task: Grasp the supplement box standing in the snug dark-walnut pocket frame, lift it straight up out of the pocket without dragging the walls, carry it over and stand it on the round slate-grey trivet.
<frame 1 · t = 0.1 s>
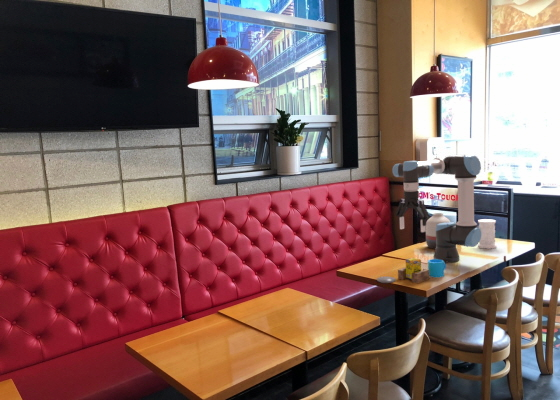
hand: (412, 230, 234), 28 cm above the table, fingers open, 13 cm apart
decorative container: (487, 246, 301), on the table
mug: (438, 275, 246), on the table
supplement box: (413, 279, 242), on the table
pocket: (413, 278, 242), on the table
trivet: (386, 280, 242), on the table
vase: (438, 247, 307), on the table
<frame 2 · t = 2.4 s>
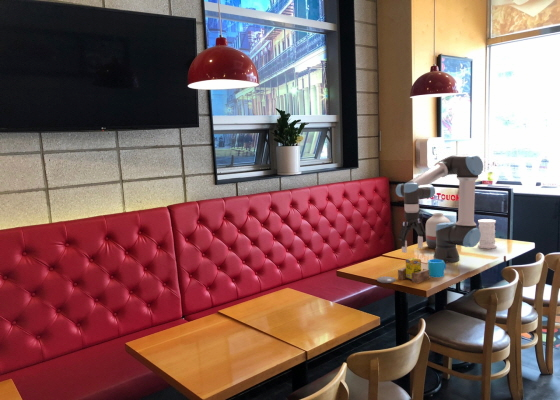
hand: (412, 250, 240), 16 cm above the table, fingers open, 13 cm apart
nothing on the table moved.
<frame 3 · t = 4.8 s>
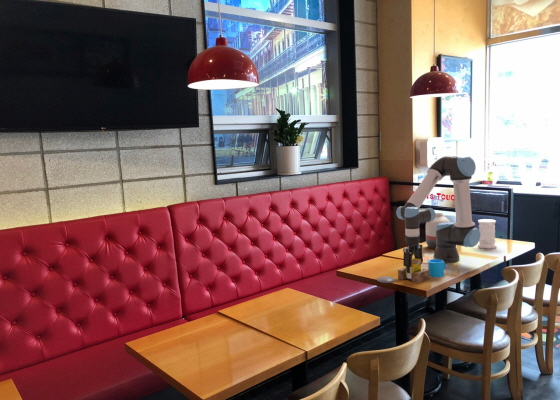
hand: (413, 276, 242), 1 cm above the table, fingers closed on supplement box, 6 cm apart
supplement box: (413, 279, 242), on the table, touching gripper
everything else where it was.
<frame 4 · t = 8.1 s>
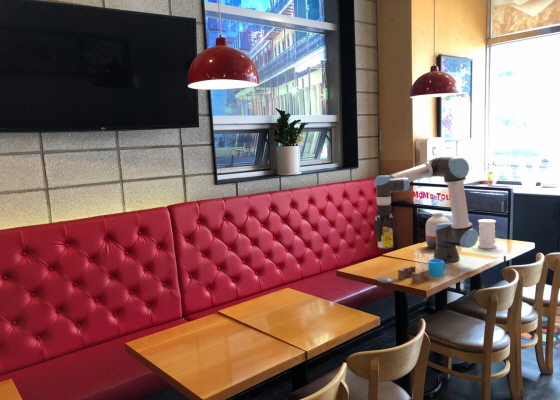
hand: (385, 246, 240), 19 cm above the table, fingers closed on supplement box, 6 cm apart
supplement box: (385, 248, 240), point 18 cm above the table, touching gripper
everything else where it was.
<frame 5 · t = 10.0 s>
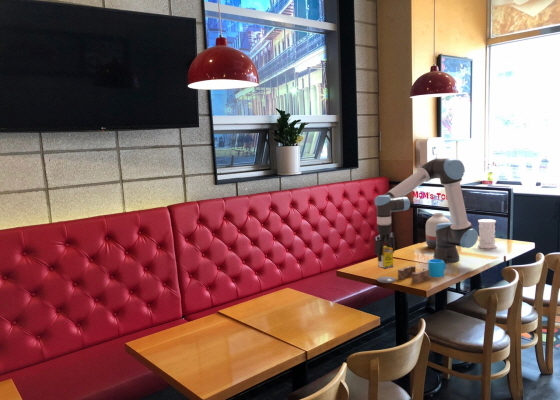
hand: (385, 265, 241), 8 cm above the table, fingers closed on supplement box, 6 cm apart
supplement box: (385, 267, 241), point 7 cm above the table, touching gripper
everything else where it was.
when the fingers open (3 cm above the table, at t = 11.7 s): supplement box drops 2 cm, resting on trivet.
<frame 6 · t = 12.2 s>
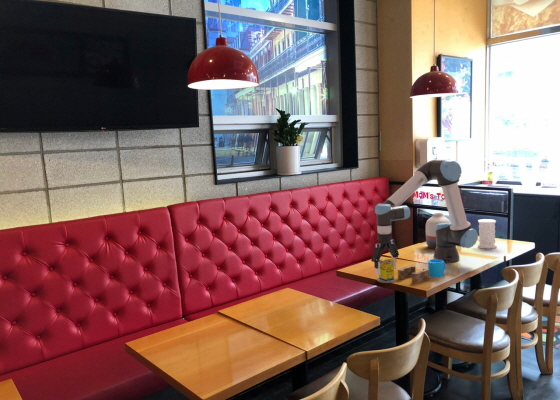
hand: (385, 271, 242), 5 cm above the table, fingers open, 12 cm apart
supplement box: (386, 279, 242), resting on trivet
everything else where it was.
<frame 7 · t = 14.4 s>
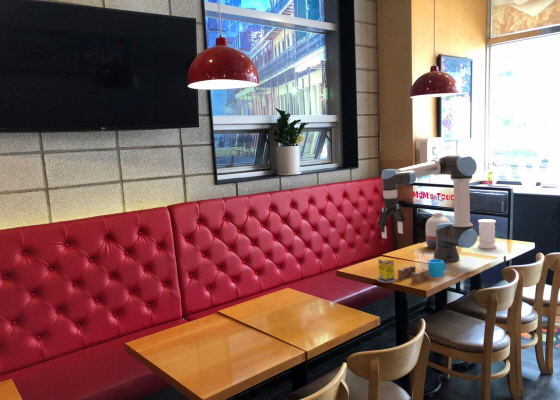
hand: (392, 235, 244), 24 cm above the table, fingers open, 13 cm apart
nothing on the table moved.
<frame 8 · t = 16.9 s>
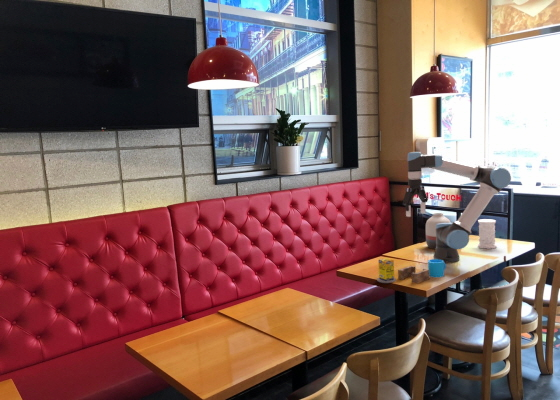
hand: (415, 214, 259), 32 cm above the table, fingers open, 13 cm apart
nothing on the table moved.
at the end: supplement box 0.3 cm from the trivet (horizontally); supplement box tilted 0°; supplement box resting on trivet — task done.
